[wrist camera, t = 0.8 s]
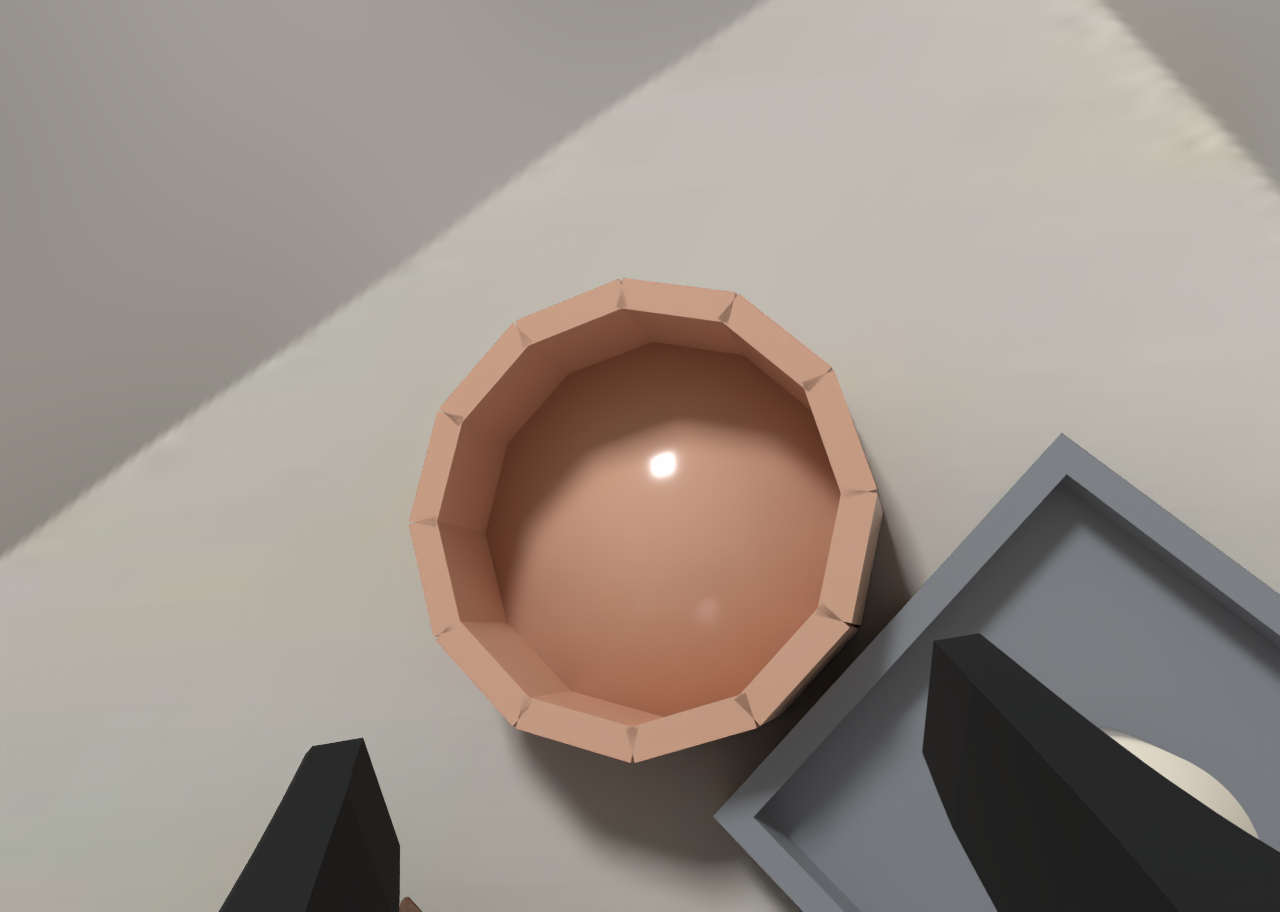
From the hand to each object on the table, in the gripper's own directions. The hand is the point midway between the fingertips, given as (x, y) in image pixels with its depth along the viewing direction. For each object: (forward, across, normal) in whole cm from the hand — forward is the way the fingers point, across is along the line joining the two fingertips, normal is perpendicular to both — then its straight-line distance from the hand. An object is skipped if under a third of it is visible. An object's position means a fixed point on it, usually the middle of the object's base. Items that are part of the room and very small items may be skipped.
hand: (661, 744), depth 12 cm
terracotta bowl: (+13, -2, +6) cm, 15 cm away
